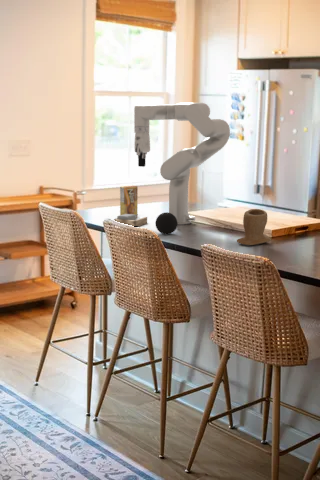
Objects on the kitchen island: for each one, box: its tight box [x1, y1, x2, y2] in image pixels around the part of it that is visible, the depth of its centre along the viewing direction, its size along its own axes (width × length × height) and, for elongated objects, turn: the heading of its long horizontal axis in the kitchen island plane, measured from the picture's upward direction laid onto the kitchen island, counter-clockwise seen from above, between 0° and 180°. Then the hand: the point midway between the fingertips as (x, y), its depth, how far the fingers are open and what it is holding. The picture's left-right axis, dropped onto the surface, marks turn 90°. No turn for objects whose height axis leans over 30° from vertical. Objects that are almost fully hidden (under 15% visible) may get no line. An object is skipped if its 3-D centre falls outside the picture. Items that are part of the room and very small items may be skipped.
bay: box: [113, 216, 148, 227], centre depth 355 cm, size 12×12×3 cm
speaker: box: [155, 212, 178, 235], centre depth 328 cm, size 10×10×10 cm
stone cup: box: [236, 208, 272, 246], centre depth 305 cm, size 15×12×15 cm
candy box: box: [119, 185, 138, 216], centre depth 382 cm, size 9×4×15 cm, turn 129°
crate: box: [116, 214, 137, 220], centre depth 355 cm, size 6×8×5 cm
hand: (141, 166), depth 364 cm, fingers closed
